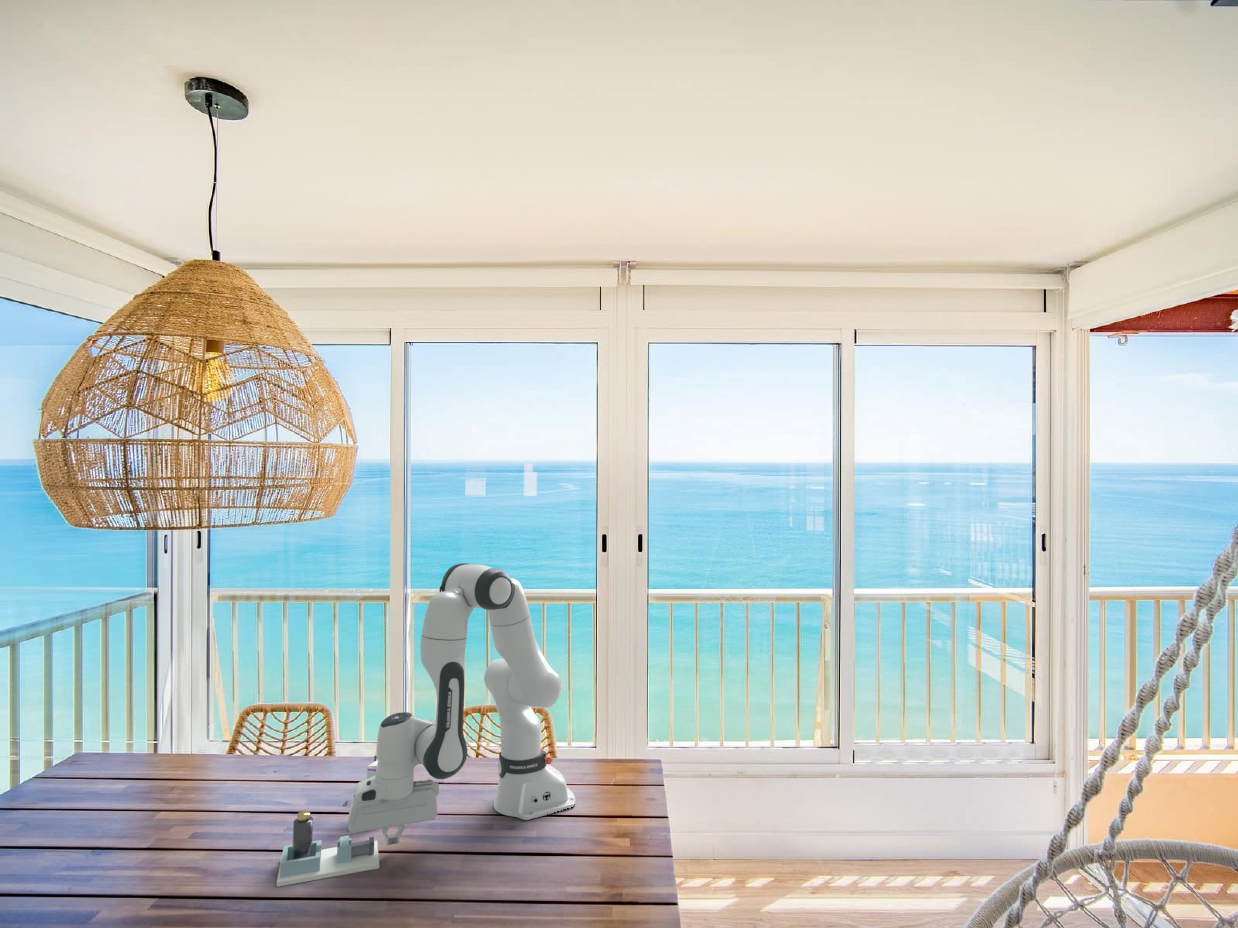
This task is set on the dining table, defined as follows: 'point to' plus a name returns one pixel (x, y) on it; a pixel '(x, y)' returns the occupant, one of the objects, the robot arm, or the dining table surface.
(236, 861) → the dining table surface
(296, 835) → the dark grey gold-tipped cylinder
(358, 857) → the dock
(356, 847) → the pin
